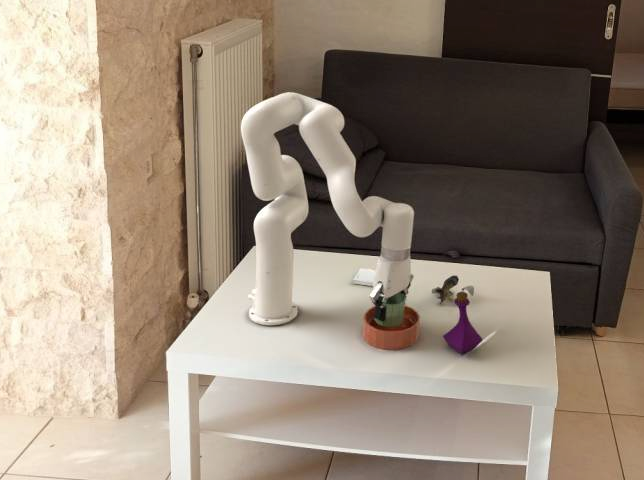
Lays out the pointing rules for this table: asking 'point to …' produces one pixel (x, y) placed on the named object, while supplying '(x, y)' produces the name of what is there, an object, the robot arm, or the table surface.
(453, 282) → the eagle figurine
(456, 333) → the perfume bottle
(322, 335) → the table surface
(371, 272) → the hard drive
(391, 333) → the terracotta bowl
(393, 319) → the green faceted cup
